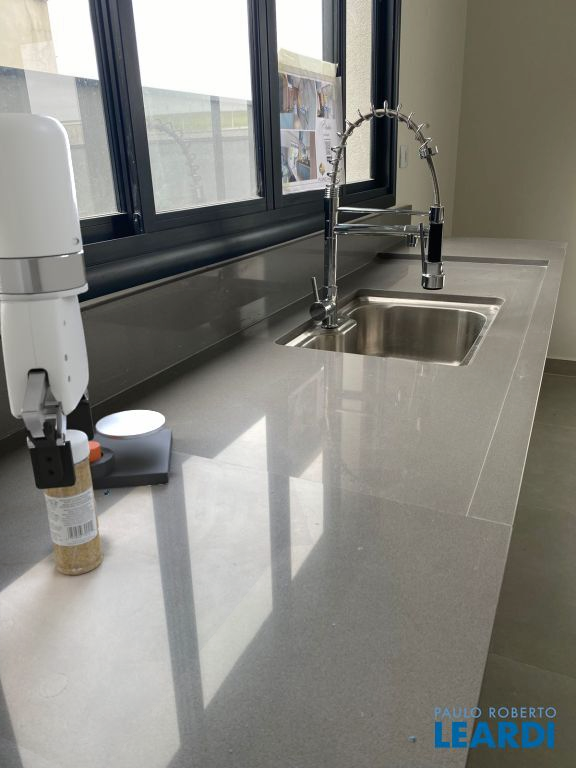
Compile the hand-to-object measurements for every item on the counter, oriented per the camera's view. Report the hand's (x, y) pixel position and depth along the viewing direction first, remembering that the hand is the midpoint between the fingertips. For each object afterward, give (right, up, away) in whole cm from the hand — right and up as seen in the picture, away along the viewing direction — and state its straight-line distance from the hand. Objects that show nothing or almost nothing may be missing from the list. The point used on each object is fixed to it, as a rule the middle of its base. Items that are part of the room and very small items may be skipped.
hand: (68, 461), depth 56 cm
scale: (-1, -3, +24) cm, 25 cm away
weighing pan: (-1, +1, +25) cm, 25 cm away
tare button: (-4, -2, +19) cm, 19 cm away
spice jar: (0, -11, +4) cm, 11 cm away
